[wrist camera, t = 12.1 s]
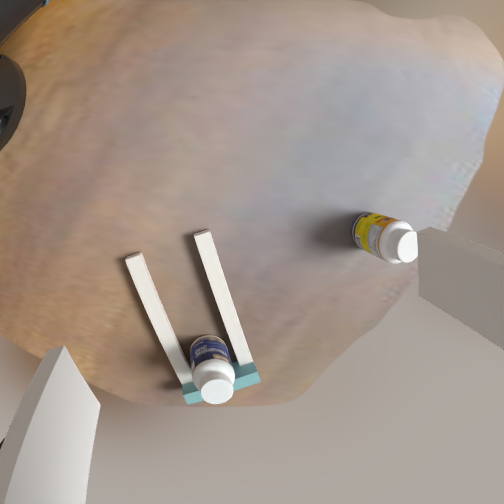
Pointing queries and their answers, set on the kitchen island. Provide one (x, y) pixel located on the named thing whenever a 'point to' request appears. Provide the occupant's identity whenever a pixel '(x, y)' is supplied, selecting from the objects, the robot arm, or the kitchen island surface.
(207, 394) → the pill bottle
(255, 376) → the guide track
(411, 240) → the supplement bottle
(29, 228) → the kitchen island surface
